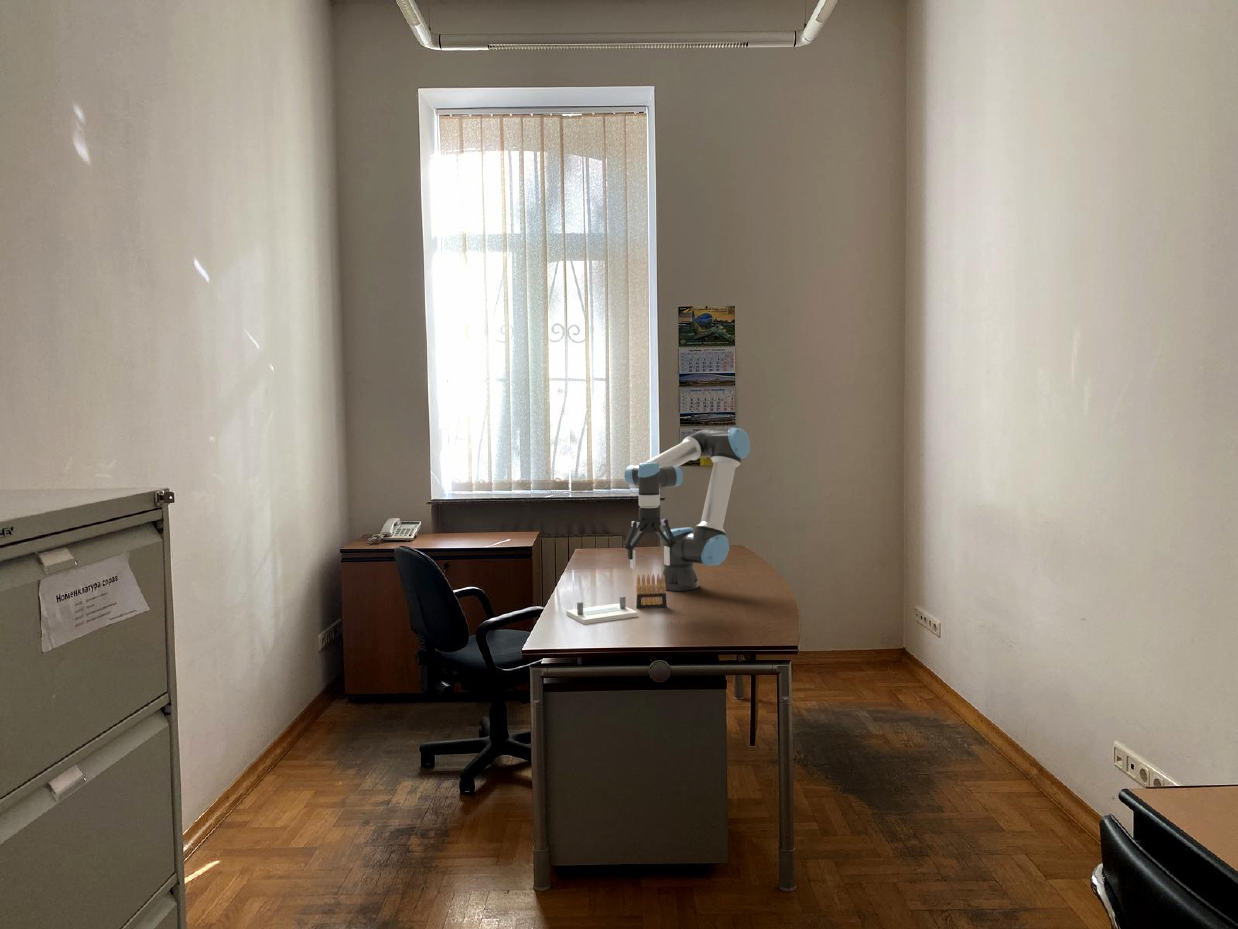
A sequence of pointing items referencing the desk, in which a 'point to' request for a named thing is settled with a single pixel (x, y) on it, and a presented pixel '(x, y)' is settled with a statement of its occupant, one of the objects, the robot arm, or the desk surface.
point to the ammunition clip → (651, 593)
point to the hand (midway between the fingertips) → (650, 566)
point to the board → (602, 612)
